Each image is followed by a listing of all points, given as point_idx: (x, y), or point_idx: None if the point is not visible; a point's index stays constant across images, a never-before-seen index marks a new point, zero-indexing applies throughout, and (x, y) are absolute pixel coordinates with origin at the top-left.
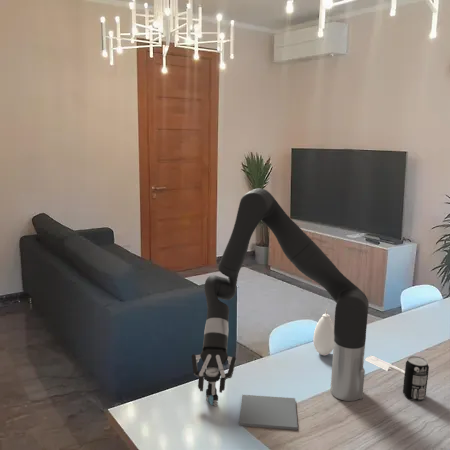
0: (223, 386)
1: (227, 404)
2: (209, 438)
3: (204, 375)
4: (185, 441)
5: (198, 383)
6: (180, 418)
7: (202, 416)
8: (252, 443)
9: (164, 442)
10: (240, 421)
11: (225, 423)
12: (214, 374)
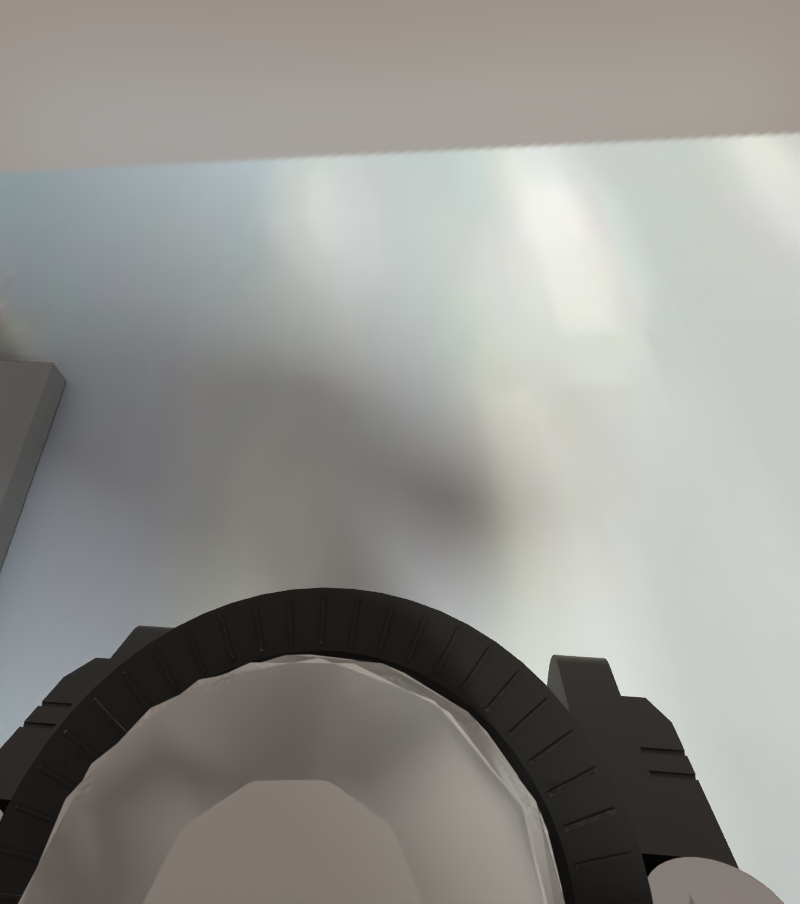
0: (70, 696)
1: None
2: (374, 218)
3: (571, 724)
4: (580, 179)
5: (684, 763)
6: (729, 460)
7: (475, 508)
8: (7, 189)
9: (755, 161)
10: (32, 387)
11: (208, 407)
12: (213, 696)
